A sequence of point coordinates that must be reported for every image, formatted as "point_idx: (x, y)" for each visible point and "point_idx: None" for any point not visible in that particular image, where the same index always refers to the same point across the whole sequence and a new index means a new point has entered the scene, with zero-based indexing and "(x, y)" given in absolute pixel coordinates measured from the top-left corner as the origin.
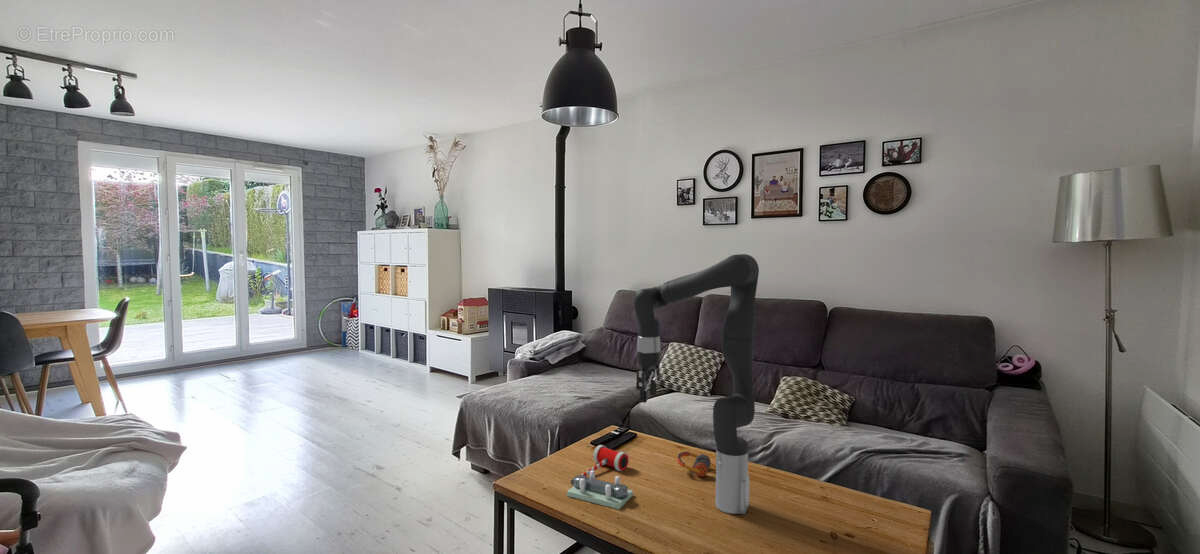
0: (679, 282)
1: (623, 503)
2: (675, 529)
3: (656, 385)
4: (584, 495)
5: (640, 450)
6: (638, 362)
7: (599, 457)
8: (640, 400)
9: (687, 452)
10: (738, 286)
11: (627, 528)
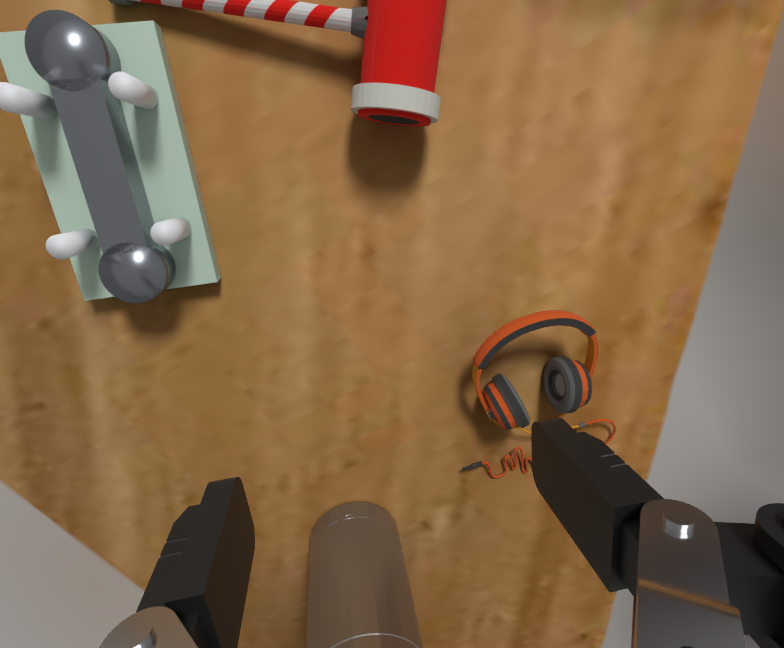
0: None
1: None
2: (128, 490)
3: (621, 580)
4: (29, 136)
5: (614, 75)
6: None
7: None
8: (184, 514)
9: (585, 330)
10: None
11: (14, 385)
